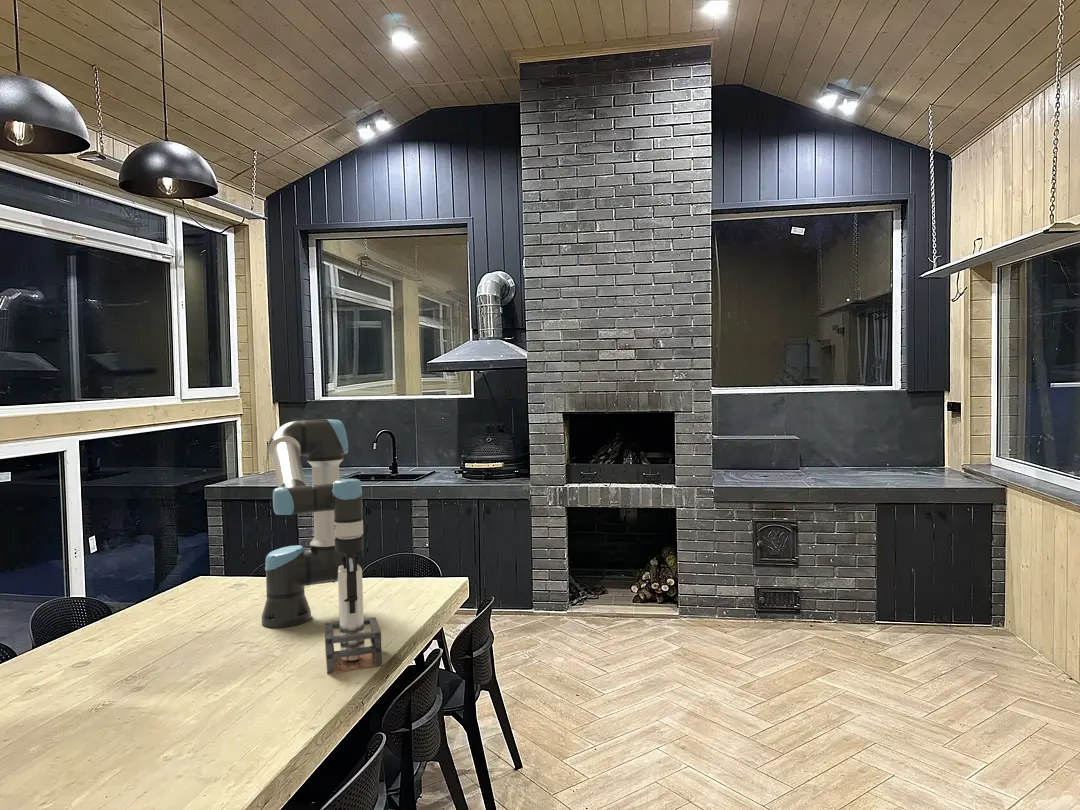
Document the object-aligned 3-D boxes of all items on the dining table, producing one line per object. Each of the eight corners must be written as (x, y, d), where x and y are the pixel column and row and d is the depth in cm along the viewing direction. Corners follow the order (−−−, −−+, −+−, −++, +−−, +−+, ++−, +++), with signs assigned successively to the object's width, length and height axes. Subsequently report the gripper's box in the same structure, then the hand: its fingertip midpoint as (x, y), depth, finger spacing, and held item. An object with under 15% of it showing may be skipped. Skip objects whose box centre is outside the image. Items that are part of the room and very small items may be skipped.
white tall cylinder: (358, 661, 190) (355, 568, 189) (336, 660, 191) (332, 568, 191) (369, 652, 196) (366, 562, 196) (347, 651, 197) (344, 562, 197)
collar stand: (325, 655, 198) (324, 623, 198) (376, 648, 203) (375, 617, 202) (327, 674, 185) (326, 639, 185) (382, 666, 189) (380, 632, 189)
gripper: (333, 531, 201) (336, 612, 201) (336, 544, 183) (339, 633, 184) (360, 529, 203) (363, 609, 204) (366, 541, 185) (368, 629, 186)
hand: (351, 620), depth 194 cm, fingers closed on white tall cylinder, 5 cm apart
